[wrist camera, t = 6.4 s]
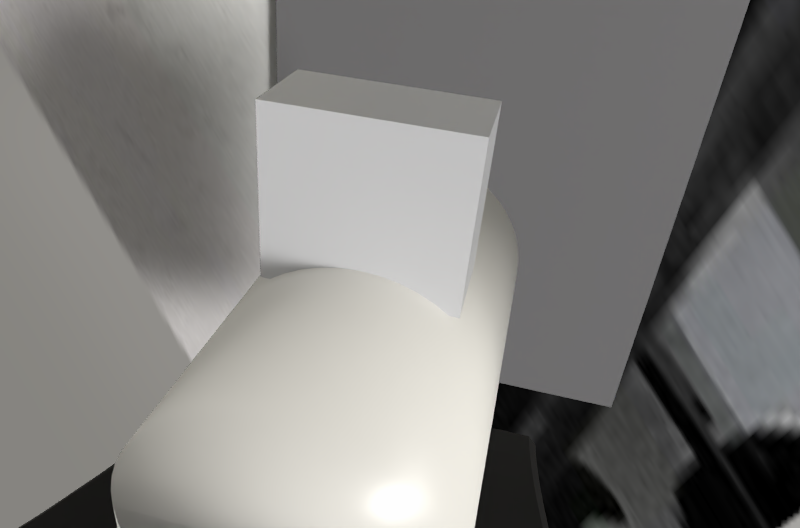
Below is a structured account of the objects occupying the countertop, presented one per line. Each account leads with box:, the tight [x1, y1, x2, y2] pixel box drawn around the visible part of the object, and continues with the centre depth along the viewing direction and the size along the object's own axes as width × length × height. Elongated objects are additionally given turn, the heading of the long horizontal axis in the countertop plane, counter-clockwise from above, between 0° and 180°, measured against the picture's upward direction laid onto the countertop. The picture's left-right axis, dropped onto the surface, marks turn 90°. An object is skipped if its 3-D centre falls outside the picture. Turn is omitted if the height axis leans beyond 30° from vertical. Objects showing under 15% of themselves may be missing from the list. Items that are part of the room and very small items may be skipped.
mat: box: [276, 0, 750, 407], centre depth 17 cm, size 11×10×1 cm
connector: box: [111, 69, 519, 528], centre depth 8 cm, size 10×3×5 cm, turn 175°
